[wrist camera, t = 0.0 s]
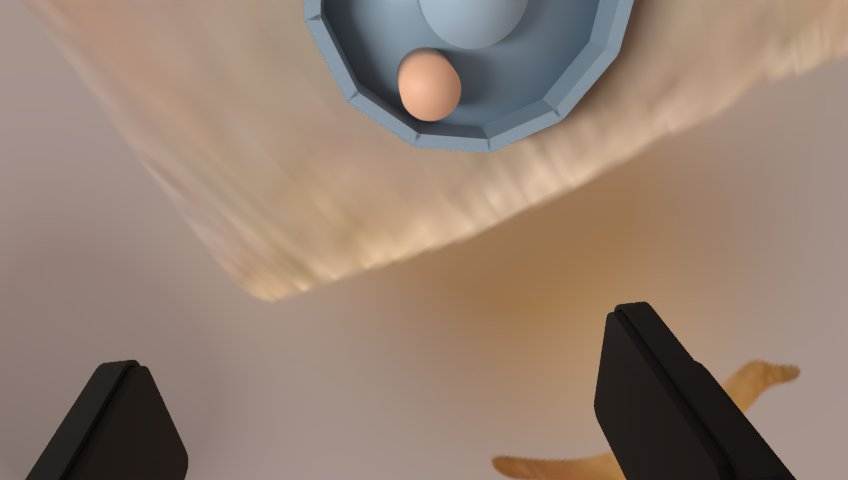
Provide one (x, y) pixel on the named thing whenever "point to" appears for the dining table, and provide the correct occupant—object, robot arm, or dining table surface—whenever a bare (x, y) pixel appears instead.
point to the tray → (470, 61)
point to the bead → (428, 84)
